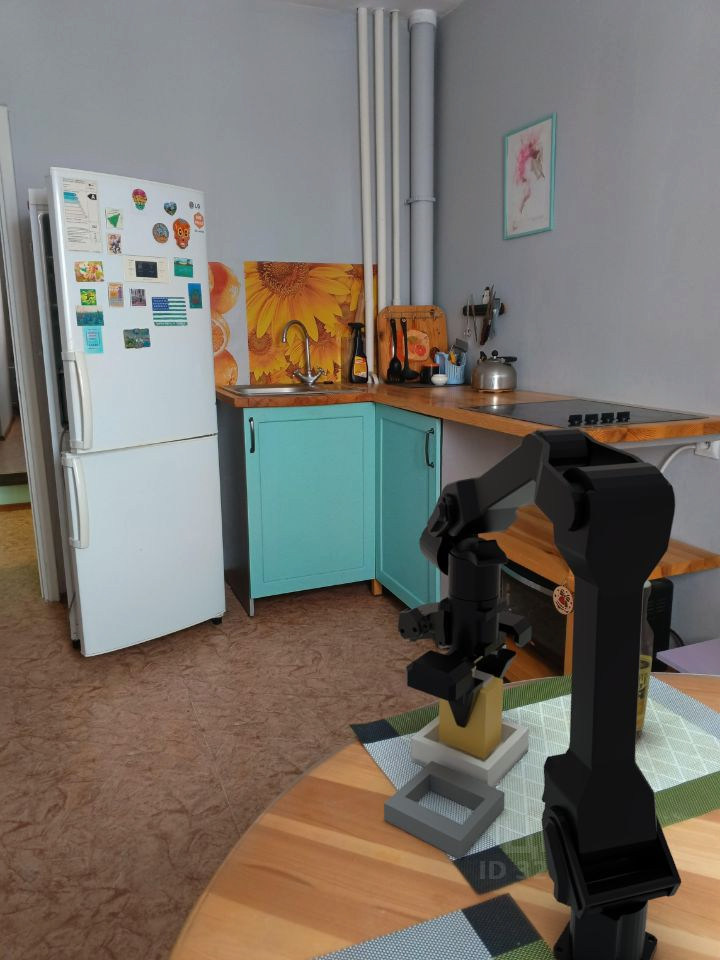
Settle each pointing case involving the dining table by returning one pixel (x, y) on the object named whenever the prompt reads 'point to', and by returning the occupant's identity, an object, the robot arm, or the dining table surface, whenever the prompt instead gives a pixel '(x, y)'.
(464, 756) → the tray
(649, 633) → the sauce bottle
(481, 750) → the block
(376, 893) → the dining table surface
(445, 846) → the grey square frame
